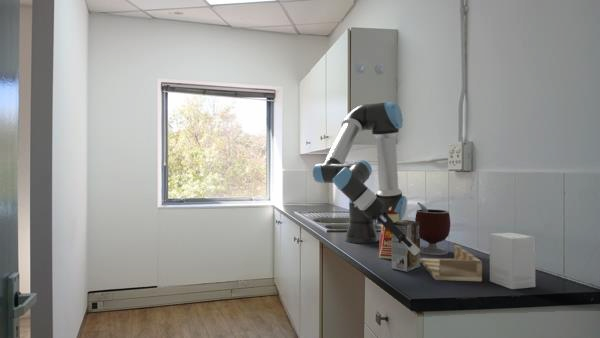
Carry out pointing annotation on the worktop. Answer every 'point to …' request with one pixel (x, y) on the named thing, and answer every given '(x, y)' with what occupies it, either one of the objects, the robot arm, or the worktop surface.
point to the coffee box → (400, 253)
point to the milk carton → (387, 237)
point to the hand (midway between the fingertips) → (414, 249)
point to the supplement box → (512, 260)
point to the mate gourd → (433, 228)
